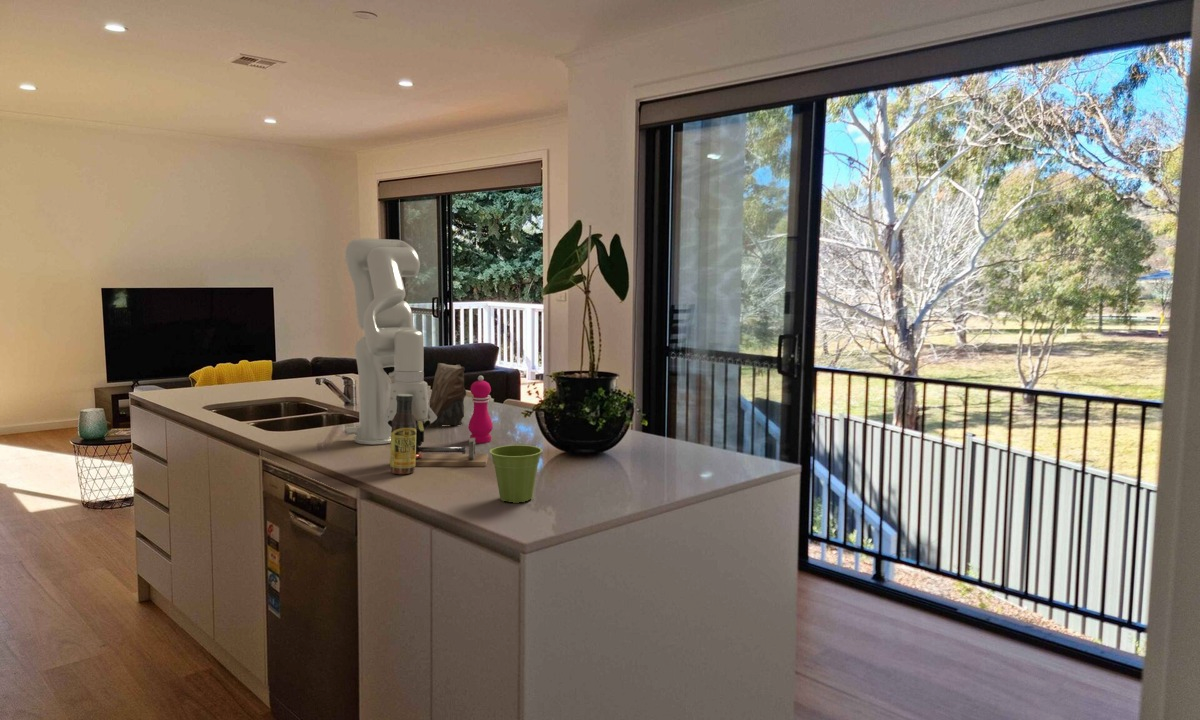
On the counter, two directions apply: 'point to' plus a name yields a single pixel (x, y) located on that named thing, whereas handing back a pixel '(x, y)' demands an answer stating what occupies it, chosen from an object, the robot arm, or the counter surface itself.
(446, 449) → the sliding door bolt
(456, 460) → the board
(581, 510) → the counter surface
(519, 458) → the plant pot
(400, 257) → the robot arm
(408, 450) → the sauce bottle
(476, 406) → the pepper mill
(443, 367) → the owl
